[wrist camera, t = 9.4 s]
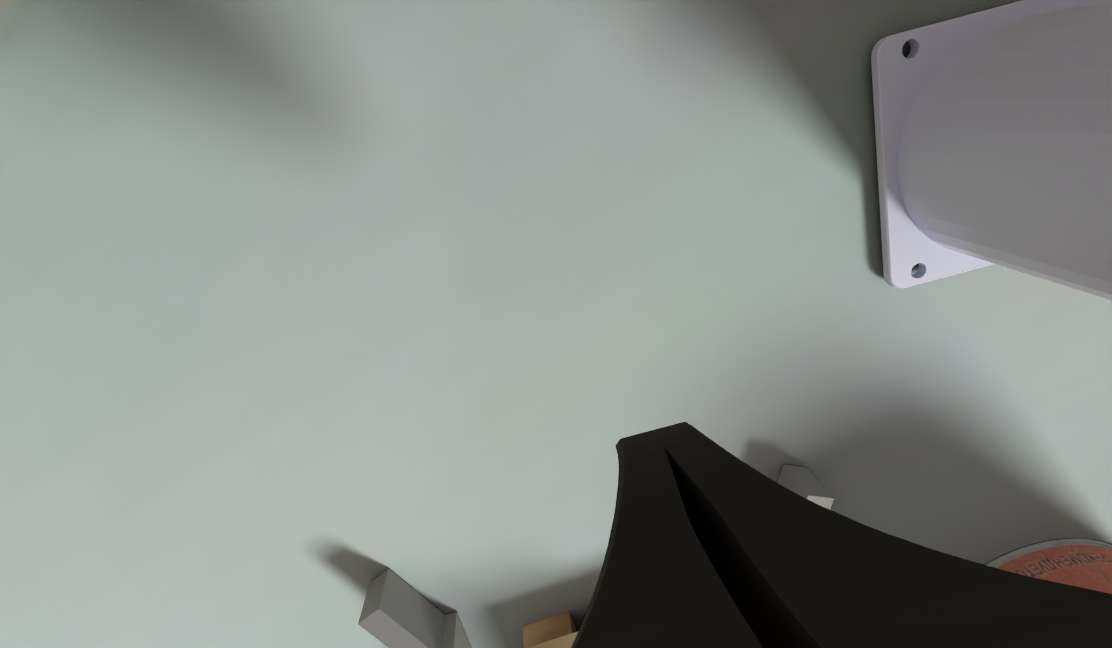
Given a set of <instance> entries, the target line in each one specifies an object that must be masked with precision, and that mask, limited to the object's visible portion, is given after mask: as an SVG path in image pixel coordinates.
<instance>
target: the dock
mask: <svg viewBox="0 0 1112 648" xmlns="http://www.w3.org/2000/svg"><path fill="white" fill-rule="evenodd" d="M777 483H778V484H780V485H782V486H784V487H785V488H787V489H789V490H791V491H793V492H795V493H796V494H798V495H800V496H802V497H804V498H806V499H808V500H810V501H812V502H814V503H816V504H818V505H820V506H822V507H824V508H827V509H829V510H830V509H831V506H832V504H833V501H834V498H833V496H832V495H831V494H830V493H829V492H828V491H827V489H826V488H825V487H824V486H823V485H822V484H821V482H820V481H819V480H818V479H817V478H816V477H815V475H814V474H813V473H812V472H811V471H810V470H809V468H808V467H802V466H794V465H786V464H783V467H782V470H781V473H780V475H779V478H778V481H777ZM358 624H359V625H360V626H361V627H363V628H364V629H365V630H367V631H368V632H369V633H371V634H372V635H373V636H375V637H376V638H377V639H378V640H380V641H381V642H382V643H384V644H385V645H386V646H388V647H389V648H471V646H470V643H469V641H468V638H467V636H466V633H465V631H464V628H463V626H462V623H461V621H460V618H459V616H458V613H457V612H453V613H449V614H446V615H445V614H444V613H442V612H441V611H440V610H439V609H438V608H436V607H435V606H434V605H433V604H432V603H430V602H429V601H428V600H427V599H425V598H424V597H423V596H422V595H421V594H419V593H418V592H417V591H416V590H415V589H413V588H412V587H411V586H410V585H409V584H407V583H406V582H405V581H404V580H402V579H401V578H400V577H399V576H398V575H396V574H395V573H394V572H393V571H392V570H390V569H389V568H388V569H387V570H386V571H384V572H383V573H382V574H380V575H379V576H378V577H376V578H375V579H374V580H372V581H371V582H370V583H369V587H368V591H367V594H366V598H365V601H364V605H363V609H362V612H361V616H360V619H359V623H358Z"/></svg>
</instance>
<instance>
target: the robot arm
mask: <svg viewBox="0 0 1112 648" xmlns="http://www.w3.org/2000/svg"><path fill="white" fill-rule="evenodd" d="M906 41H907V42H909V43H910V46H911V50H910V53H909V55H908V56H907V57H904V56H903V53H902V48H903V45H904V44H905V42H906ZM871 65H872V83H873V100H874V117H875V134H876V152H877V169H878V186H879V204H880V221H881V238H882V255H883V273H884V279H885V281H886V282H887V283H888V284H889V285H891V286H893V287H896V288H898V289H899V288H906V287H910V286H914V285H918V284H922V283H925V282H929V281H933V280H937V279H940V278H944V277H948V276H952V275H956V274H959V273H963V272H967V271H971V270H975V269H978V268H982V267H986V266H990V265H993V264H998V265H1001V266H1004V267H1007V268H1010V269H1014V270H1017V271H1020V272H1023V273H1026V274H1030V275H1033V276H1036V277H1039V278H1042V279H1046V280H1049V281H1052V282H1055V283H1058V284H1062V285H1065V286H1068V287H1071V288H1074V289H1078V290H1081V291H1084V292H1087V293H1090V294H1094V295H1097V296H1100V297H1103V298H1106V299H1110V300H1112V0H1021V1H1018V2H1014V3H1010V4H1006V5H1003V6H999V7H995V8H991V9H987V10H984V11H980V12H976V13H972V14H969V15H965V16H961V17H957V18H954V19H950V20H946V21H942V22H938V23H935V24H931V25H927V26H923V27H920V28H916V29H912V30H908V31H905V32H901V33H897V34H893V35H890V36H886V37H884V38H882V39H880V40H879V41H878V42H877V43H876V44H875V46H874V48H873V50H872V55H871ZM916 264H918V265H919V267H918V270H917V272H916V273H915V274H913V275H911V271H912V268H913V267H914V266H915V265H916ZM616 449H617V453H618V459H619V480H618V491H617V499H616V508H615V514H614V519H613V524H612V529H611V534H610V538H609V543H608V548H607V551H606V555H605V559H604V563H603V566H602V569H601V573H600V576H599V579H598V582H597V585H596V588H595V591H594V594H593V596H592V599H591V601H590V604H589V607H588V609H587V612H586V614H585V617H584V619H583V622H582V624H581V627H580V629H579V631H578V634H577V636H576V638H575V640H574V642H573V645H572V647H571V648H1112V594H1110V593H1105V592H1100V591H1096V590H1091V589H1086V588H1081V587H1077V586H1072V585H1067V584H1062V583H1058V582H1053V581H1048V580H1043V579H1038V578H1034V577H1029V576H1025V575H1021V574H1017V573H1013V572H1009V571H1006V570H1002V569H998V568H994V567H991V566H987V565H983V564H980V563H976V562H972V561H969V560H965V559H962V558H958V557H955V556H952V555H949V554H945V553H942V552H939V551H935V550H932V549H929V548H926V547H923V546H920V545H918V544H915V543H912V542H909V541H906V540H903V539H901V538H898V537H895V536H892V535H889V534H886V533H884V532H881V531H878V530H876V529H873V528H871V527H868V526H866V525H863V524H861V523H858V522H856V521H854V520H852V519H849V518H847V517H845V516H842V515H840V514H838V513H836V512H833V511H831V510H829V509H827V508H824V507H822V506H820V505H818V504H816V503H814V502H812V501H810V500H808V499H806V498H804V497H802V496H800V495H798V494H796V493H795V492H793V491H791V490H789V489H787V488H785V487H784V486H782V485H780V484H778V483H777V482H775V481H773V480H772V479H770V478H768V477H766V476H765V475H763V474H762V473H760V472H758V471H757V470H755V469H754V468H752V467H751V466H749V465H747V464H746V463H744V462H743V461H741V460H740V459H738V458H737V457H735V456H733V455H732V454H731V453H729V452H728V451H726V450H725V449H723V448H722V447H720V446H719V445H718V444H716V443H715V442H713V441H712V440H711V439H709V438H708V437H706V436H705V435H704V434H702V433H701V432H700V431H698V430H697V429H696V428H694V427H693V426H691V425H690V424H688V423H686V422H682V423H679V424H675V425H671V426H667V427H664V428H660V429H656V430H652V431H648V432H645V433H641V434H637V435H633V436H629V437H626V438H622V439H620V440H619V442H618V443H617V445H616Z"/></svg>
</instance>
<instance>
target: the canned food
mask: <svg viewBox="0 0 1112 648" xmlns="http://www.w3.org/2000/svg"><path fill="white" fill-rule="evenodd" d="M986 565H987V566H991V567H994V568H998V569H1002V570H1006V571H1009V572H1013V573H1017V574H1021V575H1025V576H1029V577H1034V578H1038V579H1043V580H1048V581H1053V582H1058V583H1062V584H1067V585H1072V586H1077V587H1081V588H1086V589H1091V590H1096V591H1100V592H1105V593H1110V594H1112V545H1110V544H1108V543H1104V542H1100V541H1096V540H1089V539H1060V540H1052V541H1046V542H1041V543H1036V544H1033V545H1029V546H1026V547H1023V548H1020V549H1017V550H1015V551H1012V552H1010V553H1007V554H1005V555H1003V556H1001V557H999V558H997V559H995V560H993V561H991V562H989V563H987V564H986Z"/></svg>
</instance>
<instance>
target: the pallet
mask: <svg viewBox="0 0 1112 648" xmlns="http://www.w3.org/2000/svg"><path fill="white" fill-rule="evenodd" d="M577 634H578V632H577V630H576V627H575V625H574V622H573V620H572V618H571V615H570V613H569V611H568V612H565V613H562V614H559V615H556V616H553V617H550V618H546V619H543V620H540V621H537V622H534V623H531V624H528V625H525V626H523V648H571V647H572V645H573V642H574V640H575V638H576V636H577Z"/></svg>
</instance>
